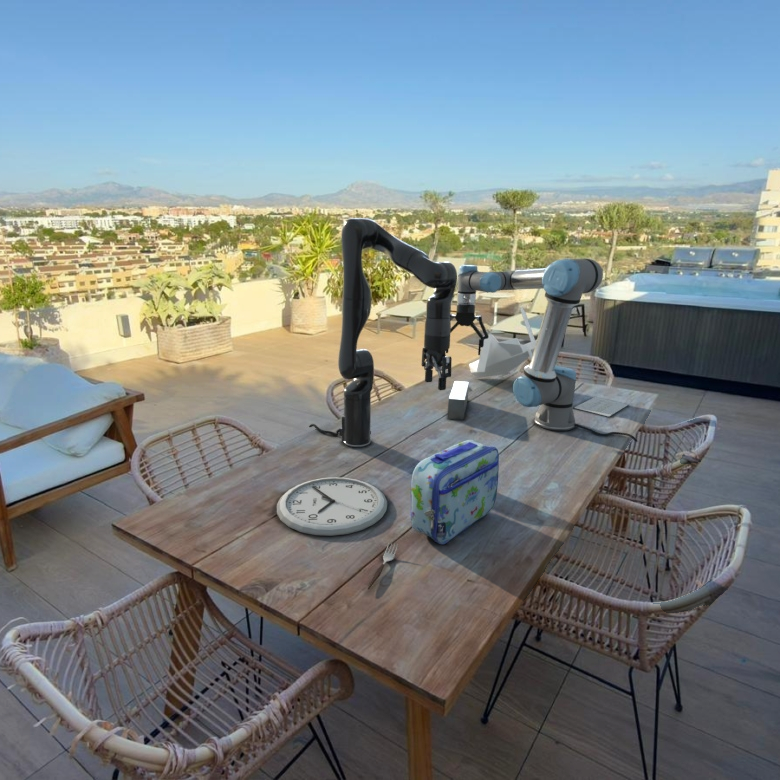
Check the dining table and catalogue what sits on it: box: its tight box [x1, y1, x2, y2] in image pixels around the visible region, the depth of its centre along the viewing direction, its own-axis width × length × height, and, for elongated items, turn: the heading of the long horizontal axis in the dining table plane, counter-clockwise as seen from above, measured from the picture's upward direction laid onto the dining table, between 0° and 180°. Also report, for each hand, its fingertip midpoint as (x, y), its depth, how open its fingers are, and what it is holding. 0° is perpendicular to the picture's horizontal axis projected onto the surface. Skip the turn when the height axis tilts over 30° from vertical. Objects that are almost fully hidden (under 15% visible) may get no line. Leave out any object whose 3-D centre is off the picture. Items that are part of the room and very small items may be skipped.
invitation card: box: [573, 396, 629, 418], centre depth 226 cm, size 21×1×15 cm
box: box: [447, 380, 470, 421], centre depth 219 cm, size 26×6×8 cm, turn 168°
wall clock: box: [276, 476, 388, 537], centre depth 142 cm, size 30×2×30 cm
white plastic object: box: [468, 307, 537, 379], centre depth 257 cm, size 37×45×31 cm
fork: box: [367, 541, 399, 590], centre depth 116 cm, size 3×16×2 cm, turn 160°
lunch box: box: [410, 439, 500, 545], centre depth 131 cm, size 26×11×21 cm, turn 134°
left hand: (435, 385), depth 157 cm, fingers open, 8 cm apart
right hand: (463, 353), depth 223 cm, fingers open, 13 cm apart
